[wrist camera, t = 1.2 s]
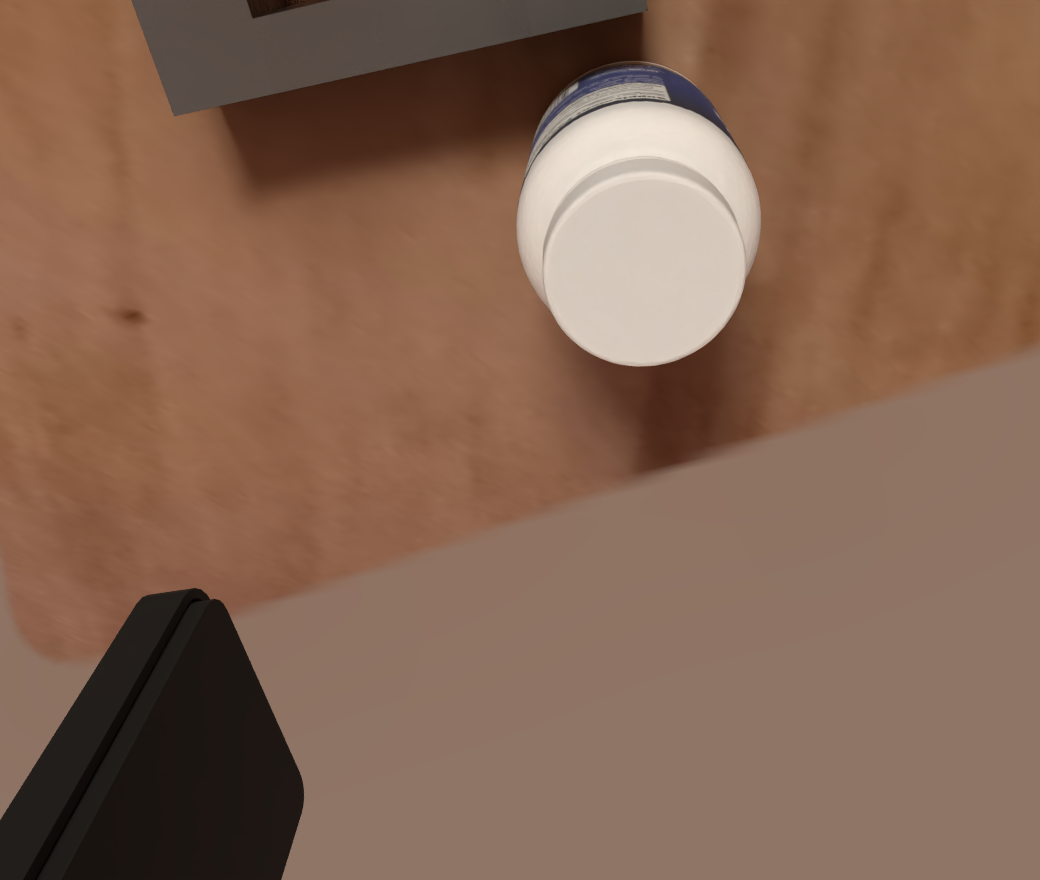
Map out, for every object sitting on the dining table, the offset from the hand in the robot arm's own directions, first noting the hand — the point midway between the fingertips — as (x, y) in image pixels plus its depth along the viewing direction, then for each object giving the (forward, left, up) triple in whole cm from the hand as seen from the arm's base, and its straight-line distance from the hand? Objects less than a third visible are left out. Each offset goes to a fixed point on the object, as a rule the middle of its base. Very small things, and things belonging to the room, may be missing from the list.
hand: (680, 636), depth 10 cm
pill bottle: (0, 0, -21) cm, 21 cm away
